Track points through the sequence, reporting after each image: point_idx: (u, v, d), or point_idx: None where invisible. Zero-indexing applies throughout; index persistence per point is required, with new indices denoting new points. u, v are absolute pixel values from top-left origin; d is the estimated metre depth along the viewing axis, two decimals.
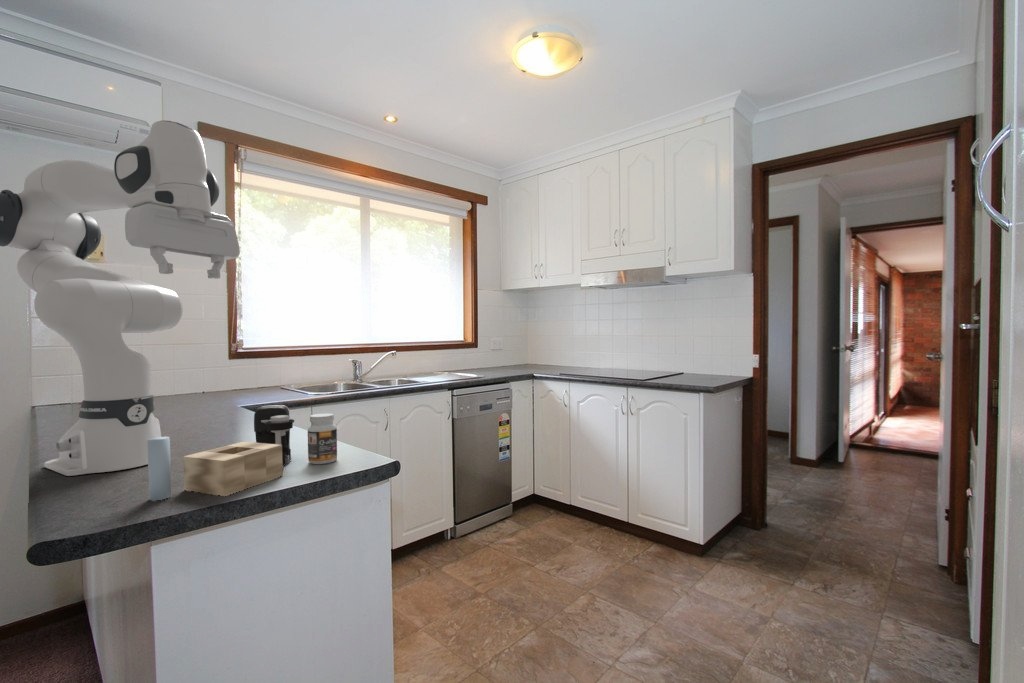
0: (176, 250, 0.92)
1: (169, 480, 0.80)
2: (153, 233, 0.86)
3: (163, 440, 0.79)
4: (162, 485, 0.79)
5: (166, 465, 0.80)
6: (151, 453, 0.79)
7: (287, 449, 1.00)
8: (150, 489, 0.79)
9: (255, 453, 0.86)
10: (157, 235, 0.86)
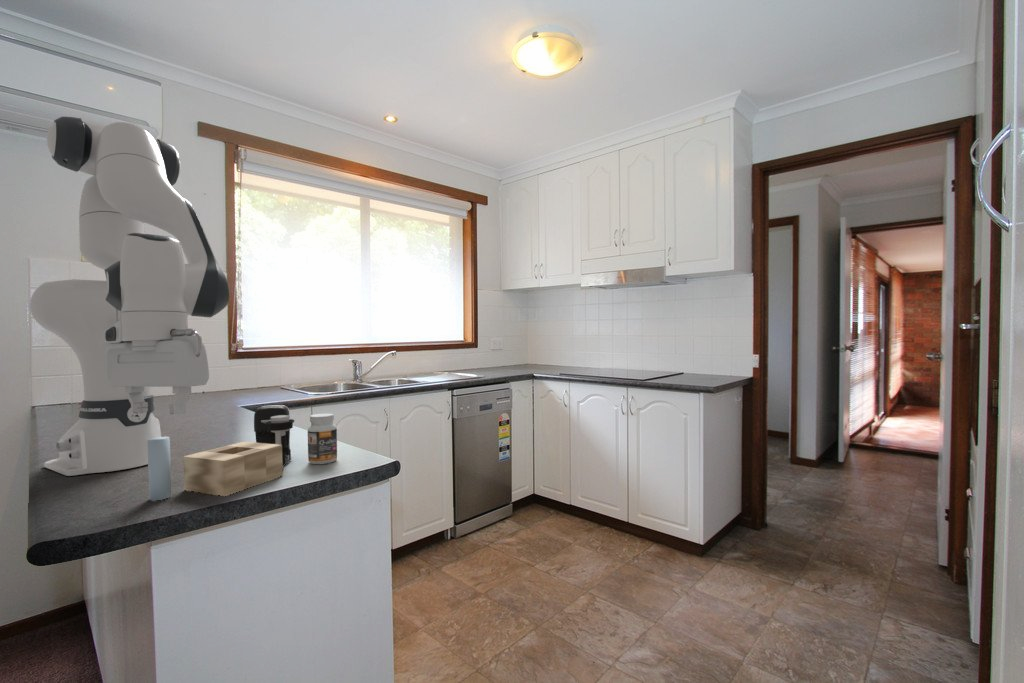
0: None
1: (169, 480, 0.80)
2: (116, 375, 0.80)
3: (163, 440, 0.79)
4: (162, 485, 0.79)
5: (166, 465, 0.80)
6: (151, 453, 0.79)
7: (287, 449, 1.00)
8: (150, 489, 0.79)
9: (255, 453, 0.86)
10: (118, 376, 0.80)
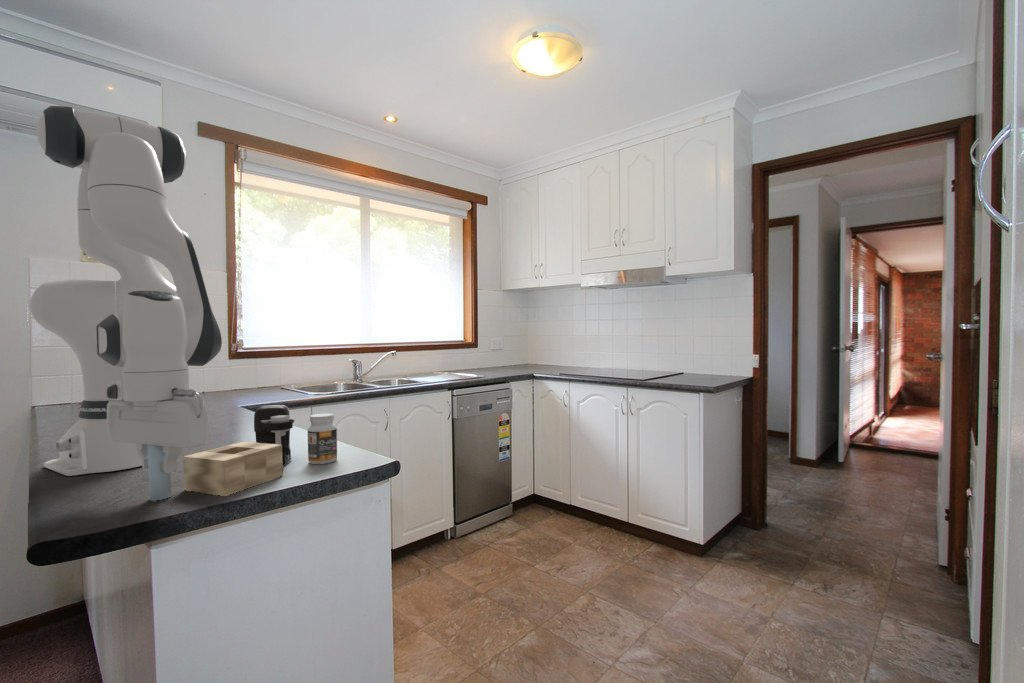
0: None
1: (169, 480, 0.80)
2: (117, 430, 0.81)
3: None
4: (162, 485, 0.79)
5: None
6: (151, 452, 0.78)
7: (287, 449, 1.00)
8: (150, 489, 0.79)
9: (255, 453, 0.86)
10: (119, 432, 0.81)
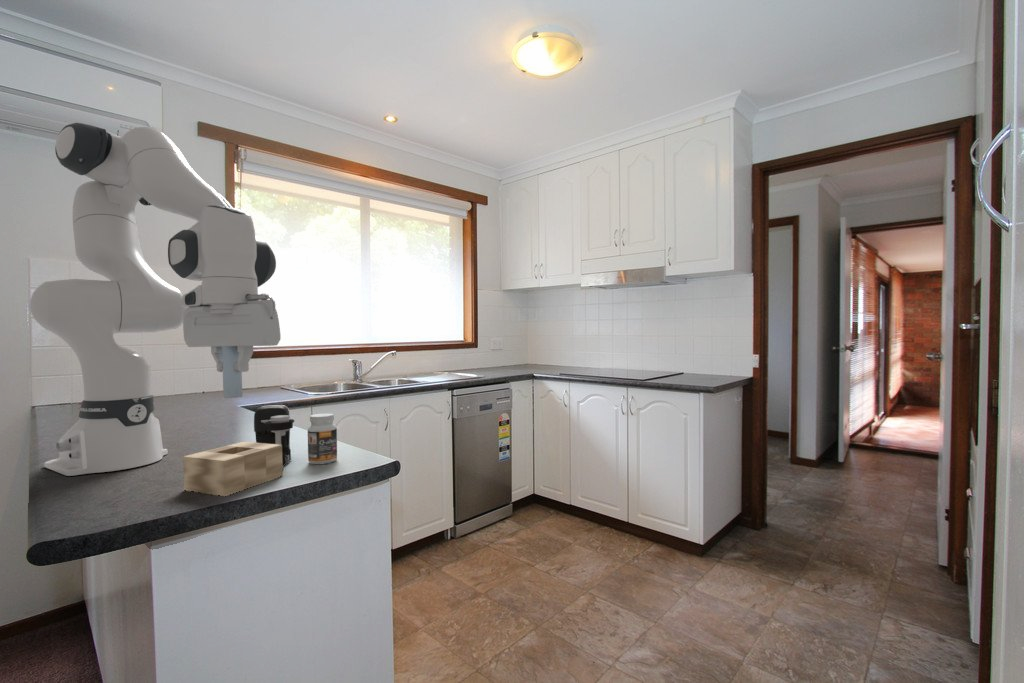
0: None
1: (241, 380, 0.87)
2: (193, 336, 0.88)
3: None
4: (235, 384, 0.86)
5: None
6: (226, 353, 0.86)
7: (287, 449, 1.00)
8: (225, 387, 0.86)
9: (255, 453, 0.86)
10: (195, 337, 0.88)
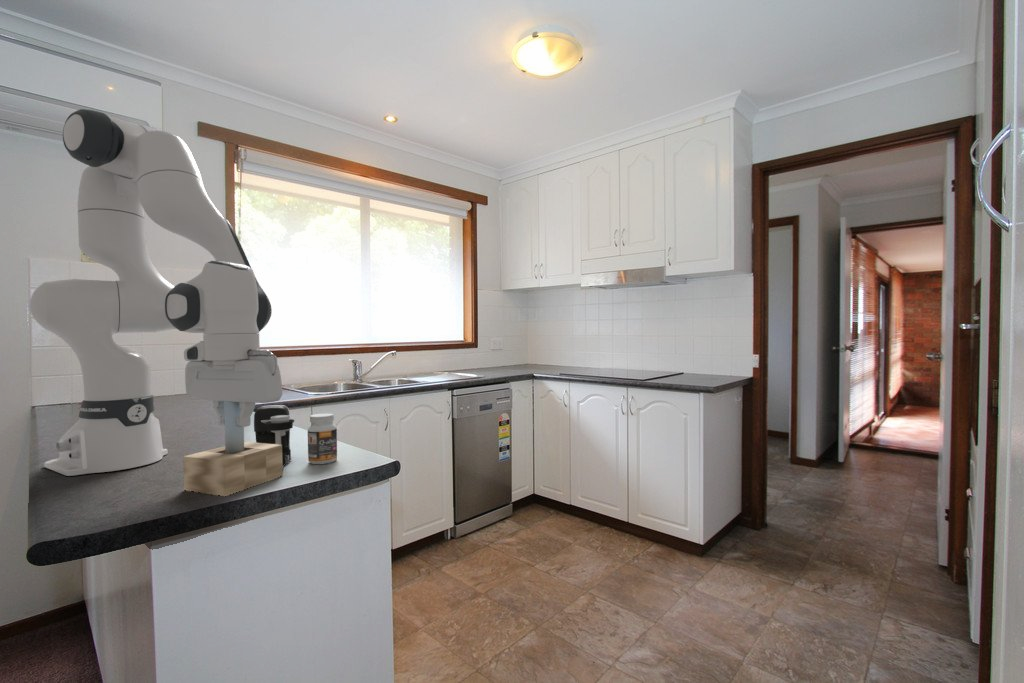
0: None
1: (243, 434, 0.88)
2: (195, 389, 0.88)
3: None
4: (237, 439, 0.86)
5: None
6: (228, 408, 0.86)
7: (287, 449, 1.00)
8: (227, 442, 0.86)
9: (255, 453, 0.86)
10: (197, 391, 0.88)
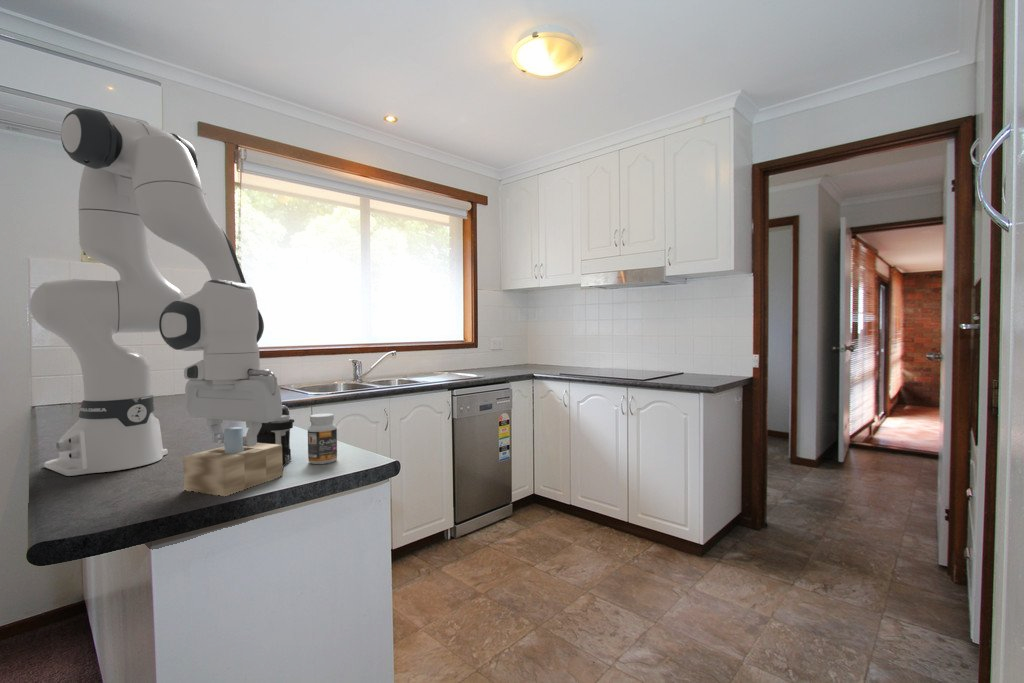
0: None
1: None
2: (195, 408, 0.88)
3: (238, 430, 0.87)
4: None
5: None
6: (228, 441, 0.86)
7: (287, 449, 1.00)
8: None
9: (255, 453, 0.86)
10: (197, 409, 0.88)
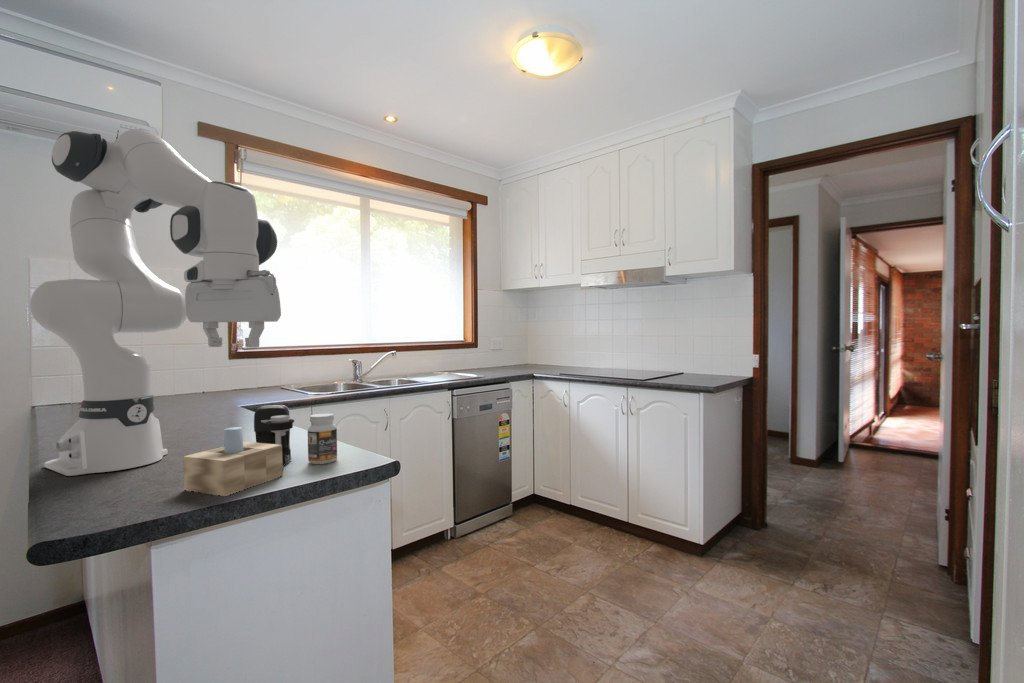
0: None
1: None
2: (195, 311, 0.89)
3: (238, 430, 0.87)
4: None
5: None
6: (228, 441, 0.86)
7: (287, 449, 1.00)
8: None
9: (255, 453, 0.86)
10: (197, 312, 0.89)
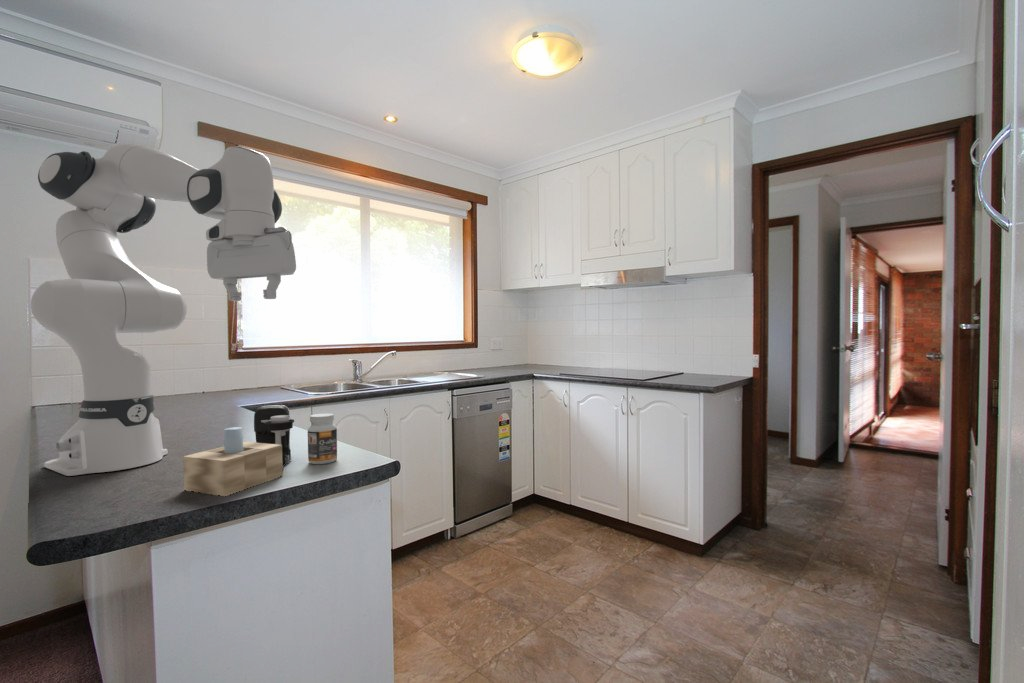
0: (250, 276, 0.98)
1: None
2: (216, 268, 0.97)
3: (238, 430, 0.87)
4: None
5: None
6: (228, 441, 0.86)
7: (287, 449, 1.00)
8: None
9: (255, 453, 0.86)
10: (218, 269, 0.97)
